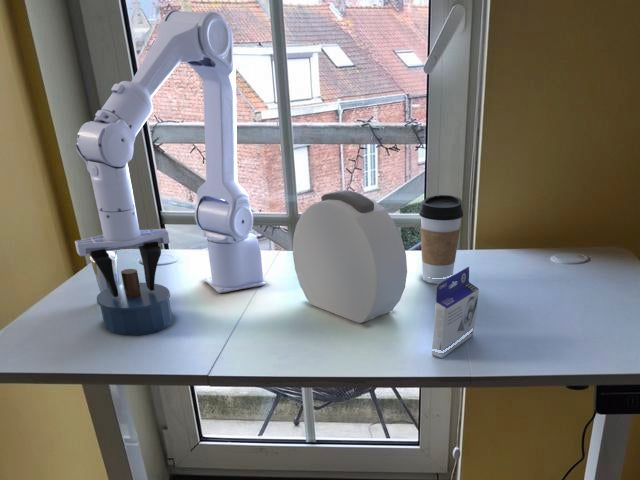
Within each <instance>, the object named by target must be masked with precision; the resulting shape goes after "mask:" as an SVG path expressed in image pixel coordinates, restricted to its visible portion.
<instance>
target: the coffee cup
mask: <svg viewBox="0 0 640 480" xmlns="http://www.w3.org/2000/svg"><path fill="white" fill-rule="evenodd" d="M462 202H463V201H462V198H460V197H459V196H455V195H451V194H435V195H432V196H428V197H426V198H424V199H423V200H422V201H421V206H420V209H419V212H418V215H419V217H420V218H421V219H420V228H419V229H420V249H421V250H420V251H421V264H422V265H421V266H422V267H421V268H422V269H421V271H422V280H423V281H424V282H426V283H428V284H429V283H430V284H436V285H438V284H439V283H441V282H443V281H444V280H446V279H448V278H446V279H432V278H443V277H447V276H450V275H452V274H453V275H454V269H455V262H456V257H457V250H458V245H459V239H460V232H461V219H462V218H463V217H464V210H463V204H462ZM453 275H452V276H453ZM425 276H426V277H425ZM428 277H430V278H428ZM449 278H450V277H449Z"/></svg>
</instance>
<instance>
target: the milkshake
mask: <svg viewBox="0 0 640 480" xmlns="http://www.w3.org/2000/svg"><path fill="white" fill-rule="evenodd" d="M106 252H107V253H108V254H109V257H110V258H111V259H112V267H113V274H114V279H115V283H116V286H117V285H121V281H120V273H119V266H118V255H117V254H118V253H117V252H118V250H115V252H114V251H113V250H111V251H106ZM89 260H90V263H91V266H92V269H93V272H94V275H95V279H96V283H97V285H98V289H99V293H100V292H102V291H104V290H106V289H108V288H109V286H108V283H107V281H106V279H105V277H104V276H103V274H102V272H101V270H100V269H99V267H98V266H97V264H96V263H95V261H94V260H93V258H92V257H91V256H90V255H89Z"/></svg>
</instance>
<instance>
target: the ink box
mask: <svg viewBox="0 0 640 480" xmlns="http://www.w3.org/2000/svg"><path fill="white" fill-rule="evenodd" d="M453 283H456V284H455V285H453V286H452V287H450V286H451V285H452V284H453ZM479 290H480V289H479V288H478V287H477V286H475V285H474V284H472V283H471V282H470V266H467V267H465V268H463V269H462V270H459V271H458V272H457V273H455V274H453V276H451V277H450V278H448V279H446V280H444V281H443V282H441V283H439V284H436V291H435V294H436V295H435V306H434V307H435V309H434V320H433V323H434V324H433V331H432V345H431V346H432V347H431V356H432V357H435V358H439V359H443V358H445V357H446V356H447V355H449V354H450V353H451V352H453V351H454V350H455V349H457V347H459V346H461V345H463V344H464V343H465V342H466V341H467V340H469V339H471V337H474V330H473V331H472V332H471V333H470V334H469V335H467V336H466V337H465V338H464V339H462V340H461V341H460V342H458V343H457V344H456V345H454V346H453V347H452V348H450V349H449V350H447V351H446V352H444V353H438V352H435V351H432V349H437V350H441V351H443V350H445V349H446V348H448V347H449V346H451V345H452V344H453V343H455V342H456V341H457V340H459V339H460V338H461V337H462V336H463V335H465V334H466V333H467V332H469V331H470V330H471V329H472V328H473V327H474V328H475V323H476V322H475V321H476V315H477V314H476V313H477V306H478V299H479Z"/></svg>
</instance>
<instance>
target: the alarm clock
mask: <svg viewBox="0 0 640 480" xmlns="http://www.w3.org/2000/svg"><path fill="white" fill-rule="evenodd" d="M292 237H293V238H292V258H293V265H294V270H295V274H296V277H297V280H298V284H299V286H300V288H301V290H302V292H303V294H304V296H305V299H306V300H307V302H308V303H309V305H311V306H314V307H317V308H319V309H322V310H324V311H327V312H329V313H332V314H335V315H337V316H340V317H342V318H344V319H347V320H350V321H353V322H355V323H357V324H362V323H365V322H368V321H370V320H373V319H376V318H378V317H380V316H381V317H382V316H383V315H386V314H388V313H390V312H392V311H393V310H394V309H395V307H396V306H397V305H398V303H399V302H400V301H401V299H402V296H403V293H404V291H405V288H406V283H407V275H408V266H407V265H408V263H407V253H406V250H405V249H406V248H405V245H404V241H403V237H402V235H401V233H400V231H399V229H398V227H397V225H396V222H395V221H394V220H393V218H392V217H391V215H390V214H389V213H388V211H387V210H386V208H384V207H383V206H382V205H381V204H380V203H379V202H377V201H376V200H375V199H374V198H371V197H369V196H366V195H364V194H362V193H360V192H357V191H354V190H347V189H346V190H345V189H343V190H338V191H337V190H336V191H332V192H329V193H325V194H324V193H323V195H322V196H321V199H320V201H318V202H315V203H312V204H310V205H309V206H308V207H307V208H305V210H304V211H302V213H301V215H300V217H299V218H298V221H297V223H296V224H295V228H294V234H293V236H292Z"/></svg>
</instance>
